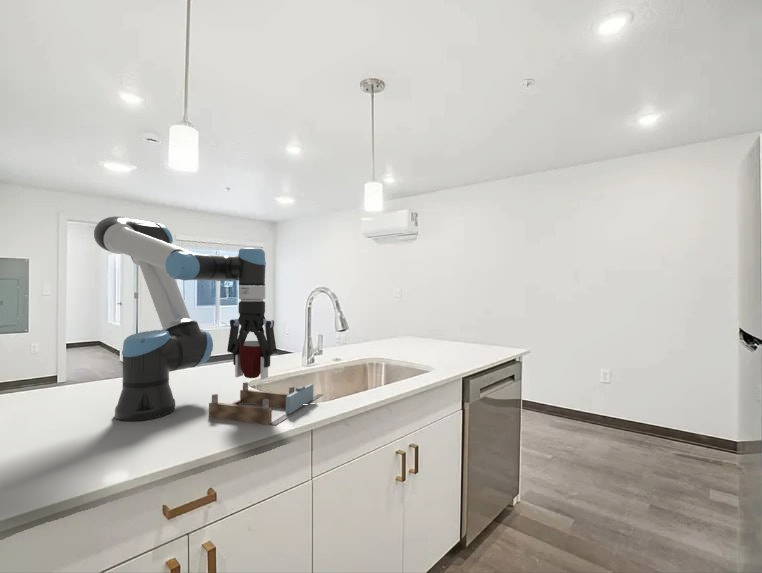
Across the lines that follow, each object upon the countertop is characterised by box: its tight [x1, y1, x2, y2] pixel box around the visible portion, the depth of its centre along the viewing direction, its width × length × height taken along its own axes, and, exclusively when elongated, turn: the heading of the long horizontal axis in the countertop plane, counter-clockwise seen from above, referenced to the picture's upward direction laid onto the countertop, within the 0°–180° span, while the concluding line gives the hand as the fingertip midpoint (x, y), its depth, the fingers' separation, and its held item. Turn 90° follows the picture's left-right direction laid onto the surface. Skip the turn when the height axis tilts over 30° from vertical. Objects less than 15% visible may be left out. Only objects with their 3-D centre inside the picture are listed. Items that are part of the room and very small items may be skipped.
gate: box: [285, 383, 314, 414], centre depth 120 cm, size 2×15×6 cm, turn 164°
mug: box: [239, 340, 263, 379], centre depth 115 cm, size 10×8×10 cm
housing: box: [208, 381, 324, 427], centre depth 122 cm, size 22×31×6 cm
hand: (251, 377), depth 115 cm, fingers closed on mug, 8 cm apart
